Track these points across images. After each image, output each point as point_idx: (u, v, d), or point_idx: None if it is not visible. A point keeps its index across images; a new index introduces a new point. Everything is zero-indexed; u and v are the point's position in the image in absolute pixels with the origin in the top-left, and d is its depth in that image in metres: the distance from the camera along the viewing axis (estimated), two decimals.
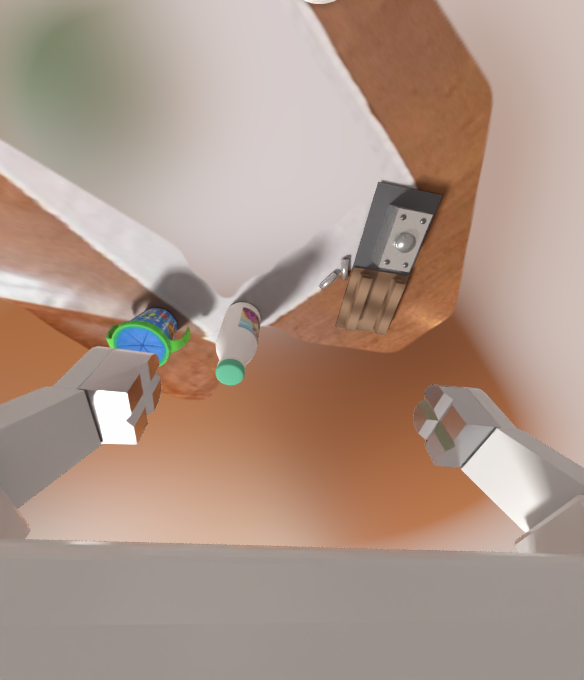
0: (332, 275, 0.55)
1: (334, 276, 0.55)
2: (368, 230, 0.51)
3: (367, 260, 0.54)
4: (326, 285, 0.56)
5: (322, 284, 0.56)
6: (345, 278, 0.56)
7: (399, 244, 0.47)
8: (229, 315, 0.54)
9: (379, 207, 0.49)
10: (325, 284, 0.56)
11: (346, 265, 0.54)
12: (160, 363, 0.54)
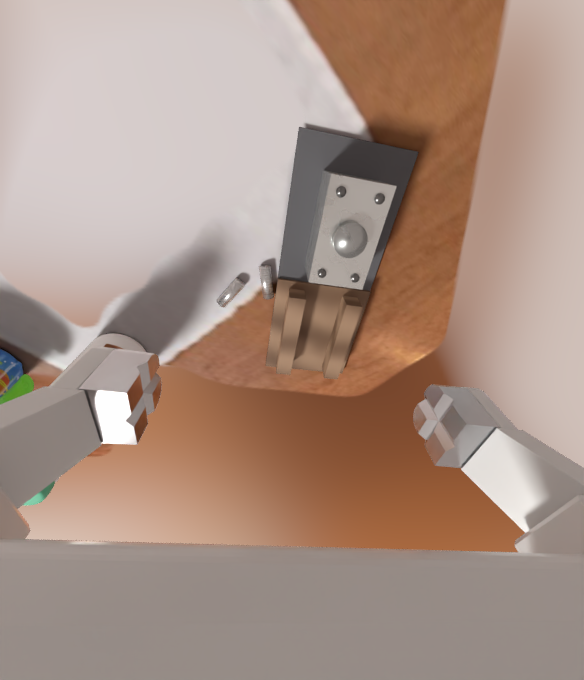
0: None
1: None
2: (293, 218, 0.30)
3: (298, 268, 0.33)
4: None
5: None
6: (272, 295, 0.35)
7: (337, 243, 0.26)
8: (74, 360, 0.33)
9: (307, 176, 0.28)
10: None
11: (270, 276, 0.33)
12: None
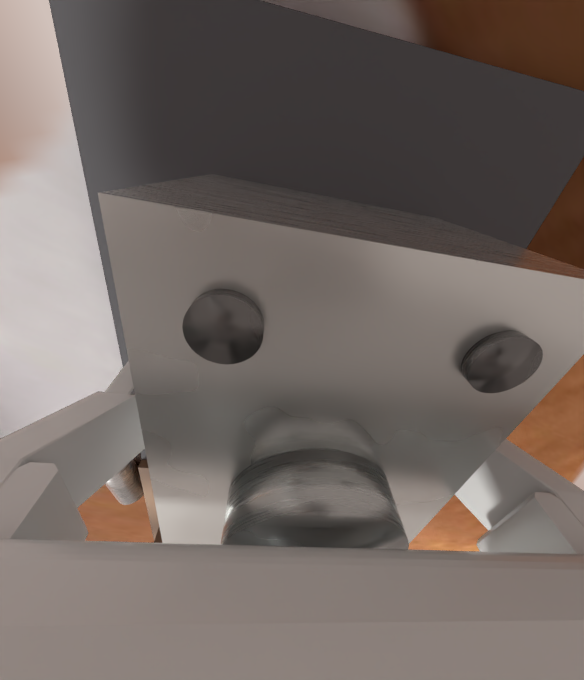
0: None
1: None
2: None
3: None
4: None
5: None
6: (141, 490, 0.14)
7: None
8: None
9: None
10: None
11: None
12: None
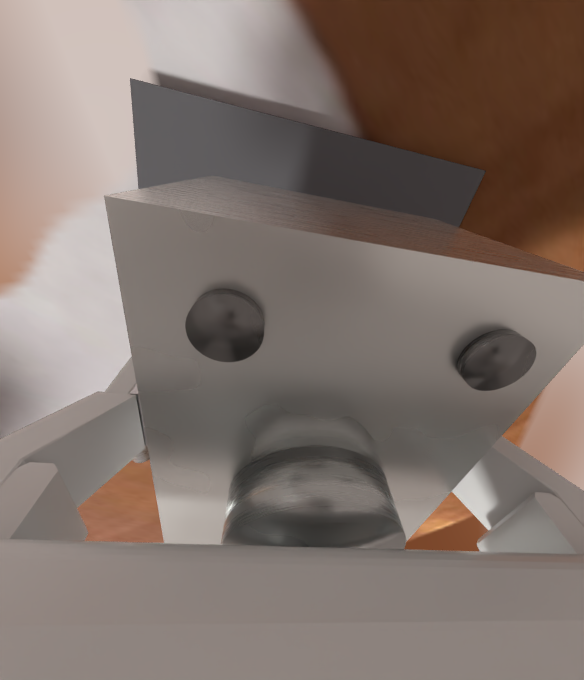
0: None
1: None
2: None
3: None
4: None
5: None
6: None
7: None
8: None
9: None
10: None
11: None
12: None
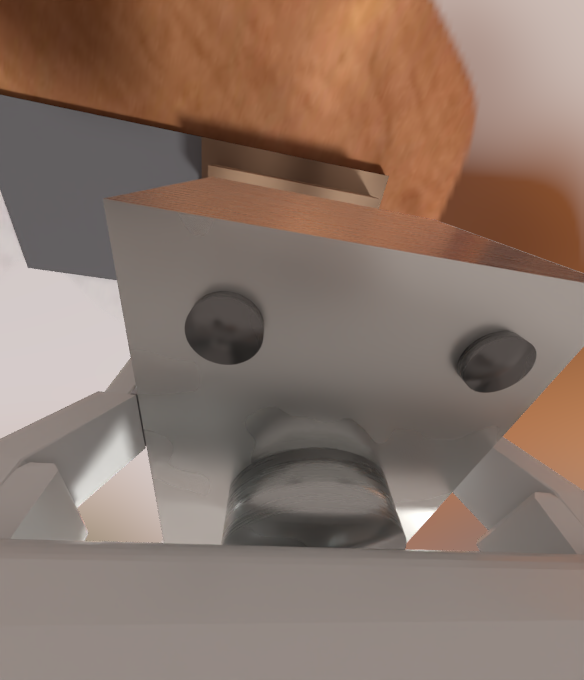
0: None
1: None
2: None
3: None
4: None
5: None
6: None
7: None
8: None
9: (70, 256, 0.24)
10: None
11: None
12: None
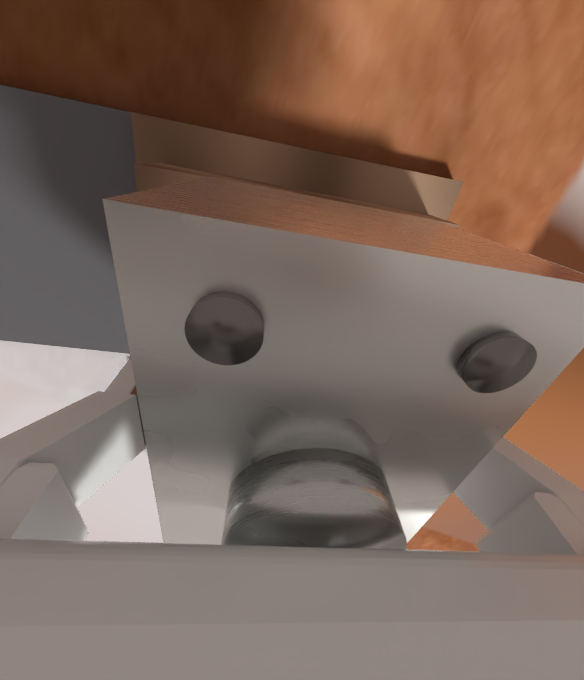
0: None
1: None
2: (31, 333, 0.16)
3: None
4: None
5: None
6: None
7: None
8: None
9: None
10: None
11: None
12: None
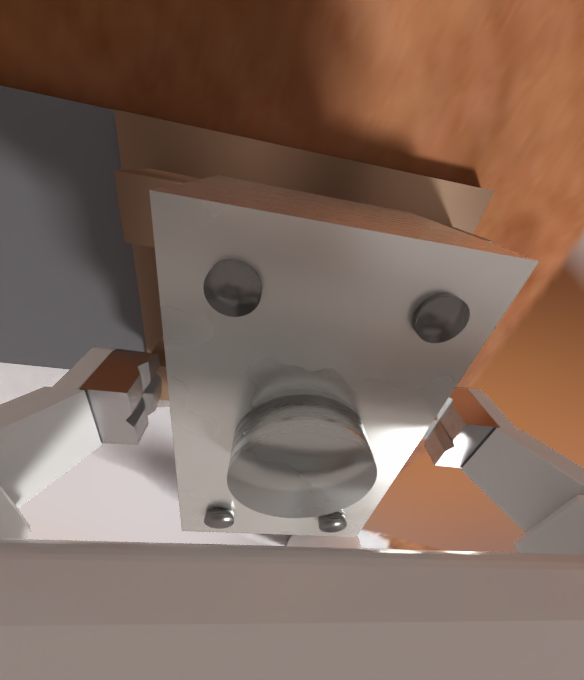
0: None
1: None
2: (10, 353, 0.14)
3: (118, 340, 0.14)
4: None
5: None
6: None
7: (245, 487, 0.06)
8: None
9: None
10: None
11: None
12: None
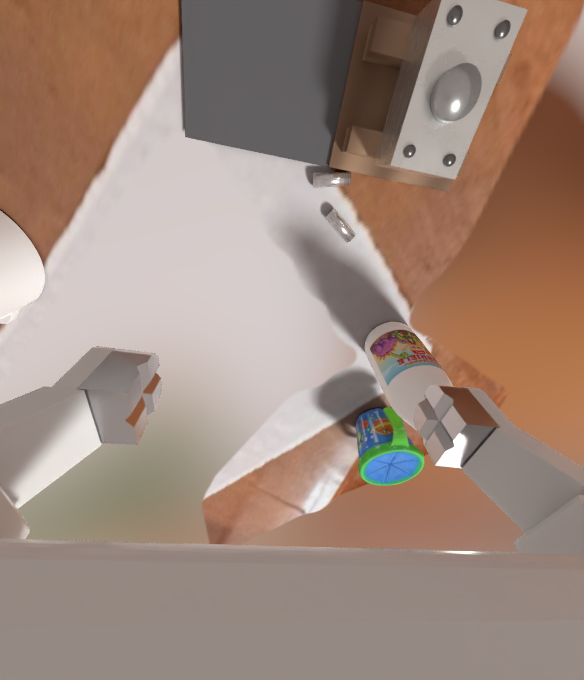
0: None
1: None
2: (263, 144, 0.28)
3: (319, 137, 0.28)
4: None
5: None
6: None
7: (441, 95, 0.20)
8: (375, 374, 0.39)
9: (224, 126, 0.27)
10: None
11: None
12: (419, 458, 0.43)
